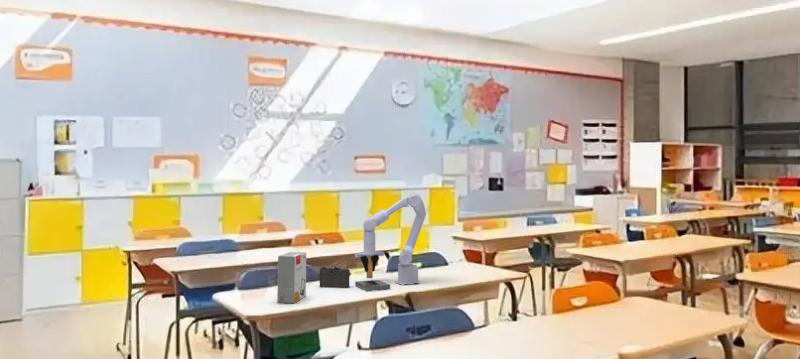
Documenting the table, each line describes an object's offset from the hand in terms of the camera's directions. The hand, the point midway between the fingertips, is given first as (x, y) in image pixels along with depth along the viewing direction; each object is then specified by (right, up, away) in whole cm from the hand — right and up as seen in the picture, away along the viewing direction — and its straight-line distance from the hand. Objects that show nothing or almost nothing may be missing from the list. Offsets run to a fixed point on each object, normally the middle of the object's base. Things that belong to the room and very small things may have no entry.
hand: (369, 271), depth 336 cm
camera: (-16, -6, -7) cm, 19 cm away
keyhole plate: (+2, -6, -11) cm, 13 cm away
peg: (0, -3, 0) cm, 3 cm away
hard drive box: (-32, -7, -39) cm, 51 cm away
